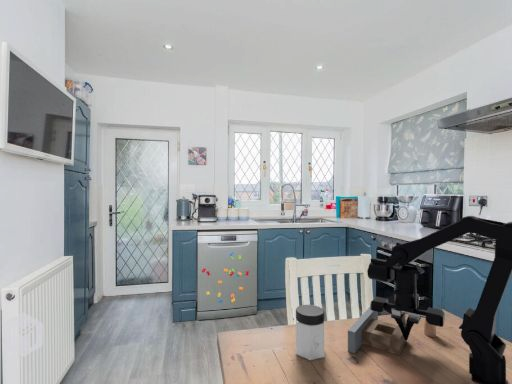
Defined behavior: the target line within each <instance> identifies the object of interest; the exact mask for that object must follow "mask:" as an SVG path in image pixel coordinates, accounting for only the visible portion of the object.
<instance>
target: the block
mask: <svg viewBox="0 0 512 384" xmlns="http://www.w3.org/2000/svg"><path fill="white" fill-rule="evenodd" d="M406 342H407V340H405V339H404V336H403V334H402V332H401V330H400V328H399V326H398V324H393V323H390V322H386V321H382V320H379V319H378V320H375V319H372V320H371V321H370V322H369V324H368V325H367V326H366V327H365V328H364V330H363V343H362V345H367V346H369V347H373V348H376V349H379V350H383V351H385V352H389V353H391V354H395V355H398V356H400V354H401V352H402V351H403V349H404V346H405V344H406Z"/></svg>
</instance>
